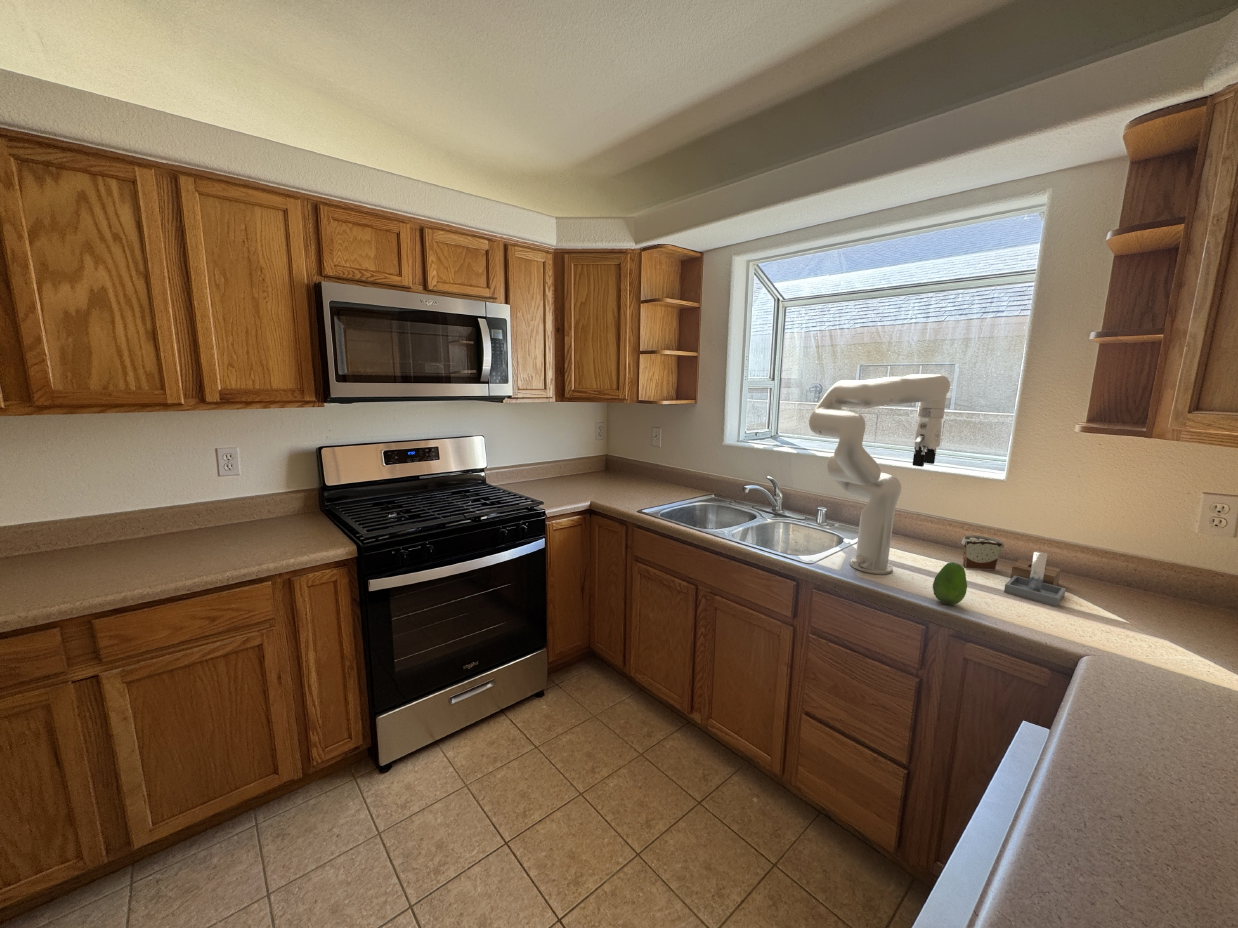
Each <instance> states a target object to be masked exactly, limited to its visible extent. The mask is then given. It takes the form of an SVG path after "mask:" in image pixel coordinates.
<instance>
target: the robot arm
mask: <svg viewBox="0 0 1238 928" xmlns="http://www.w3.org/2000/svg"><path fill="white" fill-rule="evenodd" d="M950 389H951V381H950V380H949V378H948V376H946V375H943V374H928V373H927V374H925V373H924V374H915V373H913V374H907V375H905V376H886V377H881V378H880V377H878V378H872V379H860V380H857V379H854V380H853V379H852V380H851V379H849V380H848V379H843V380H842V379H841V380H839V381H836V383H834V384H833V385H832V386H830V388H829V390H827V392H825V394H824V396H823V397H822V398H821V400H820V401H819V402H818V404H816V407H814V409H813V410H812V412H811V415H810V417H809V420H808V426H809V429H810V430H811V432H812V433H813V434H816V435H817V436H822V437H828V438H829V437H830V438H835V439H837V438H838V443H837V446H836V448H835V449H834V452H833V454H831V455H830V457H828V460H827V465H826V469H827V473H828V475H829V477H830V478H831V479H832V480H833V481H834V482H835V483H836V485H838V487H840V489H842V490H843V491H844V492H845V493H847V494H848V495H850V496H852V497H855V498H860V499H863V500H866V501H868V503H867V504H866V505H865V506H864V508H863V509H862V510H861V512H860V517H859V526H858V535H857V543H856V553H855V557H852V558H851V559H850V561H849V564H850V566H851V567H852V568H854V569H855V570H857V571H858V570H859V571H860V572H864V573H868V574H873V575H874V574H876V575H887V574H891V573H892V572H893V571H894V570H893V569H894V568H893V565H891V564H890V563H889V559H890V549H891V541H892V533H893V527H894V525H893V524H894V519H895V512H896V508H897V504H898V501H899V498H900V495H901V492H902V484H901V481H900V480H899V479H898V478H897V477H895V476H894V475H893V474H892V475H891V474H889V473H884V472H882V471H881V468H880V466H879V465H880V464H878V463H877V461H876V459H874V457H872V455H871V454H870V453H868V451H867V449H865V448H864V447H863V441H864V436H865V432H866V420H865V418H864V416H863V415H862V413H859V412H858V411H855V410H850V409H861V410H862V409H865V410H866V409H871V408H873V409H874V408H878V407H883V406H884V407H885V406H889V405H891V406H892V405H904V404H912V403H918V404H917V406H918V407H917V411H916V418H917V419H918V421H917V426H916V432H915V437H914V447H913V448H914V450H913V459H912V466H915V467H920V468H922V467H924V465H925V464H929V465H930V464H931V465H934V464H935V461H936V455H937V448H939V447H940V446H941V440H942V439H941V437H942V423H943V422H942V420H943V419H944V416H945V410H946V409H945V408H946V403H947V395H948V393H949V392H950ZM843 408H847V409H843ZM848 408H849V409H848Z"/></svg>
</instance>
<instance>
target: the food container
mask: <svg viewBox="0 0 1238 928" xmlns="http://www.w3.org/2000/svg"><path fill="white" fill-rule="evenodd" d="M961 544H962V545H963V555H962V556H963V558H962V566H963V568H964V569H969V570H981V571H982V570H985V571H987V570H988V571H996V568H997V566H998V562H999V558H1000V555H1001V553H1002V552H1001V551H1002V548H1004V547H1005V543H1004V541H1003V540H1000V539H998V538H995V537H994V538H993V537H990V536H984V535H977V534H976V535H975V534H969V535H968V534H967V535H965V536H963V538H962V541H961Z"/></svg>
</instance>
